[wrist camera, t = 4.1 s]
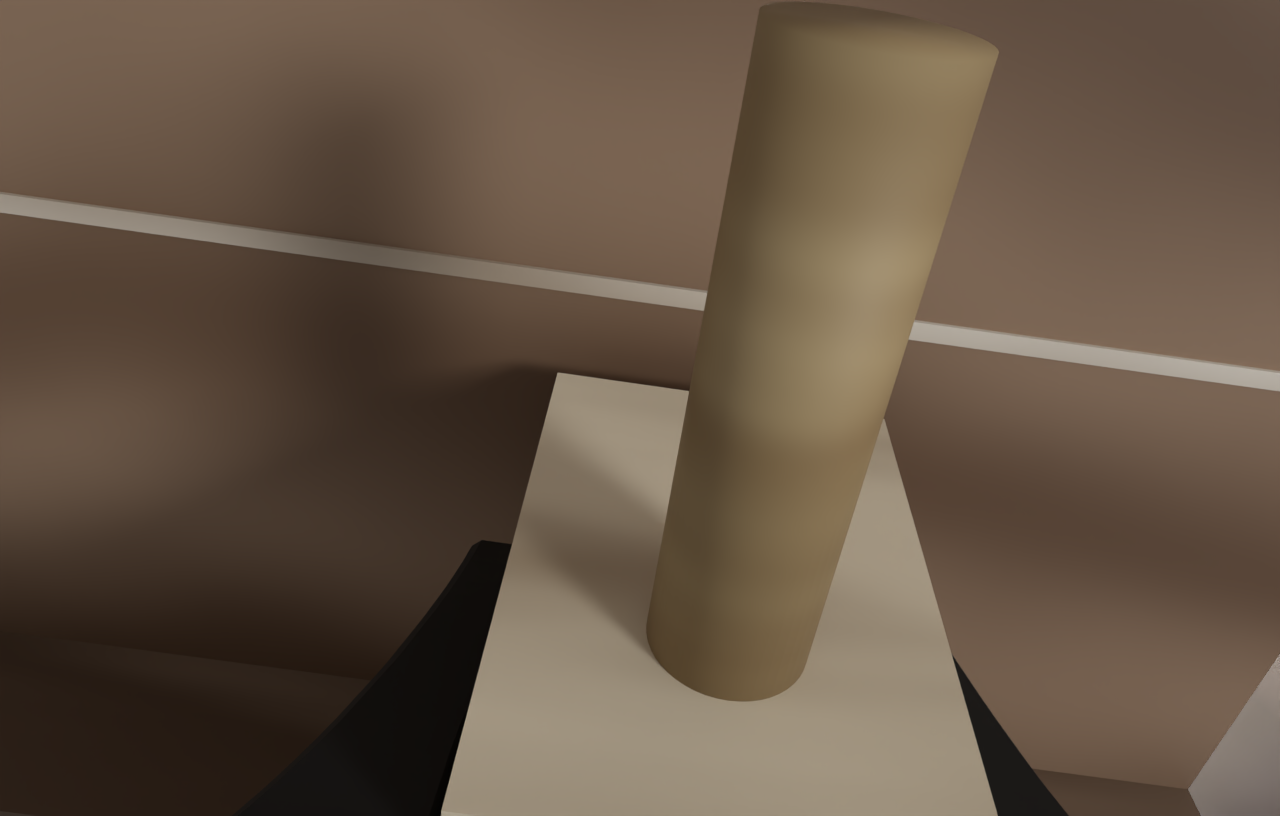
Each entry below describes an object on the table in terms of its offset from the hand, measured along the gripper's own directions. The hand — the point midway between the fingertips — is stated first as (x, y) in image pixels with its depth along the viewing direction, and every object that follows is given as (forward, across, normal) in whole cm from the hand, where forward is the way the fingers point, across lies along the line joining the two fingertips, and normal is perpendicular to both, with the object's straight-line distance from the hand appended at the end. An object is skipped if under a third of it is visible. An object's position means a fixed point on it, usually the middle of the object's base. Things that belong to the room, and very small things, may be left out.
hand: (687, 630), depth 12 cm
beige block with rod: (+1, 0, -2) cm, 3 cm away
